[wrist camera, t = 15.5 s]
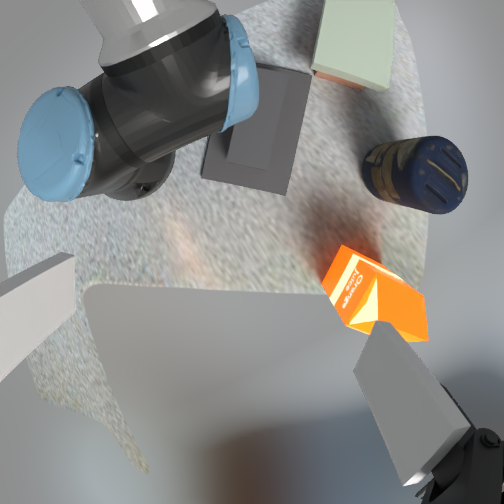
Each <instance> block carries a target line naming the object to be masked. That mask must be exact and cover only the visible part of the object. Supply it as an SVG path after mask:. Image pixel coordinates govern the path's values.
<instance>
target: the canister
mask: <svg viewBox="0 0 504 504" xmlns="http://www.w3.org/2000/svg"><path fill="white" fill-rule="evenodd" d="M363 178H364V182H365V184H366V186H367V188H368V189H369V191H370V192H371V193H372V194H373V195H374V196H375V197H377V198H378V199H380V200H383V201H386V202H390V203H394V204H398V205H402V206H406V207H411V208H414V209H418V210H422V211H425V212H429V213H432V214H446V213H449V212H451V211H453V210H454V209H455V208H456V207H457V206H458V205H459V204H460V203H461V202H462V200H463V198H464V196H465V194H466V191H467V186H468V170H467V166H466V162H465V159H464V157H463V155H462V153H461V152H460V150H459V149H458V148H457V147H456V146H455V145H454V144H453V143H452V142H451V141H449V140H448V139H446V138H443V137H440V136H426V137H419V138H412V139H405V140H399V141H396V142H391V143H386V144H381V145H378V146H376V147H374V148H373V149H372V150H371V151H370V152H369V153H368V154H367V156H366V158H365V160H364V164H363Z"/></svg>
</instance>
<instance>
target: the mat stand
mask: <svg viewBox="0 0 504 504" xmlns="http://www.w3.org/2000/svg"><path fill="white" fill-rule="evenodd" d="M256 68H257V73H258V80H259V104H258V107H257V109H256V111H255V112H254V113H253V115H252V116H251V117H250V118H248V119H246V120H244V121H242V122H239V123H237V124H235V125H232V126H230V127H228V128H227V129H226V130H224V131H223V132H221V133H218V132H215V133H213V134H211V136H210V140H209V144H208V149H207V153H206V158H205V163H204V167H203V172H202V177H201V178H204V179H209V180H214V181H219V182H224V183H229V184H234V185H239V186H244V187H249V188H253V189H258V190H262V191H267V192H271V193H276V194H280V195H284V196H286V192H287V188H288V184H289V179H290V175H291V171H292V166H293V162H294V157H295V153H296V148H297V144H298V139H299V135H300V130H301V126H302V121H303V117H304V112H305V107H306V103H307V98H308V93H309V88H310V84H311V79H312V76H311V75H308V74H304V73H300V72H296V71H292V70H288V69H284V68H279V67H274V66H270V65H265V64H260V63H256Z"/></svg>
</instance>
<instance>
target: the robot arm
mask: <svg viewBox="0 0 504 504" xmlns="http://www.w3.org/2000/svg"><path fill="white" fill-rule="evenodd" d="M80 2H81V3H82V5H83V7H84V8H85V10H86V12H87V13H88V14H89V16H90V18H91V20H92V21H93V23H94V24H95V26H96V27H97V29H98V31H99V32H100V34H101V35H102V37H103V46H102V49H101V52H100V56H99V59H98V62H99V65H100V66H101V68H102V69H103V71H104V73H102V74H101V75H99V76H98V77H96V78H94V79H93V80H91V81H90V82H88V83H87V84H86V85H84V86H83V87H81V88H80V89H78V90H77V89H75V88H74V87H69V86H67V87H57V88H53V89H51V90H49V91H47V92H45V93H44V94H42V95H41V96H40V97H39V98H38V99H37V100H36V101H35V102H34V103H33V105H32V106H31V107H30V109H29V111H28V112H27V114H26V116H25V118H24V121H23V124H22V126H21V132H20V136H19V140H18V148H17V158H18V165H19V170H20V174H21V177H22V179H23V181H24V183H25V185H26V187H27V188H28V190H29V191H30V192H31V193H32V194H33V195H35V196H37V197H39V198H40V199H41V200H44V201H48V202H56V201H58V202H59V201H60V202H68V201H71V200H73V199H76V198H81V197H87V196H92V195H98V194H103V193H104V194H105V195H107V196H109V197H111V198H113V199H117V200H122V201H130V200H136V199H140V198H144V197H146V196H148V195H150V194H152V193H153V192H155V191H156V190H157V189H158V188H160V187H161V186H162V184H163V183H164V182H165V181H166V179H167V178H168V176H169V174H170V172H171V170H172V167H173V164H174V160H175V152H176V150H177V149H179V148H181V147H183V146H185V145H188V144H190V143H192V142H194V141H197V140H199V139H201V138H203V137H206V136H208V135H210V134H213V133H215V132H218V133H221V132H223V131H224V130H226V129H227V128H228V127H230V126H232V125H235V124H237V123H239V122H242V121H244V120H246V119H248V118H250V117H251V116H252V115H253V113H254V112H255V111H256V109H257V107H258V104H259V80H258V73H257V68H256V63H255V59H254V55H253V52H252V49H251V48H250V46H249V41H248V37H247V34H246V31H245V29H244V27H243V25H242V23H241V22H240V20H239V19H238V18H237V17H235V16H233V15H222V16H220V14H219V11H218V9H217V7H216V5H215V3H213V2H210V1H208V0H80ZM75 312H76V306H75V256H74V255H71V254H67V253H64V252H61V253H58V254H56V255H54V256H52V257H50V258H48V259H46V260H44V261H42V262H40V263H38V264H36V265H34V266H32V267H30V268H28V269H26V270H24V271H22V272H20V273H18V274H16V275H14V276H13V277H11V278H9V279H7V280H5V281H3V282H1V283H0V382H1V381H2V379H4V377H6V375H8V374H9V372H11V371H12V370H13V369H14V368H15V367H16V366H17V365H18V364H19V363H20V362H21V361H22V360H23V359H24V358H25V357H26V356H27V355H28V354H29V353H30V352H31V351H32V350H34V349H35V348H36V347H37V346H38V345H39V344H40V343H41V342H42V341H43V340H44V339H45V338H47V337H48V336H49V335H50V334H51V333H52V332H53V331H54V330H55V329H57V328H58V327H59V326H60V325H61V324H62V323H63V322H64V321H66V320H67V319H68V318H69V317H70V316H71V315H72V314H74V313H75ZM353 371H354V374H355V376H356V378H357V380H358V382H359V385H360V387H361V389H362V391H363V394H364V396H365V398H366V400H367V402H368V405H369V407H370V409H371V412H372V414H373V416H374V418H375V421H376V423H377V425H378V428H379V430H380V432H381V434H382V437H383V439H384V442H385V444H386V446H387V449H388V451H389V454H390V456H391V458H392V461H393V463H394V465H395V468H396V471H397V473H398V476H399V478H400V481H401V483H402V485H403V486H405V485H410V484H414V483H418V482H421V480H423V479H424V478H425V477H426V476H427V475H428V474H429V473H430V472H432V474H433V476H434V478H433V479H432V480H431V481H430V482H428V484H427V485H425V486H424V487H423V488H422V489H421V490H420V491H419V492H418V493H417V494H416V495H415V497H418V496H419V495H420V494H422V493H423V492H424V491H426V492H425V494H424V496H423V497H422V498H421V499H423V500H422V503H421V504H504V492H502V486H503V485H504V441H501V439H500V438H499V436H498V435H497V434H496V433H495V432H493V431H492V430H490V429H486V428H479V429H478V430H476V428H475V427H474V425H473V424H472V422H471V421H470V420H469V418H468V417H467V415H466V414H465V413H464V411H463V410H462V409H461V407H460V406H458V403H457V402H456V401H455V399H453V398H452V395H451V394H450V393H449V391H448V390H447V389H446V388H445V387H444V386H443V385H442V384H440V383H439V382H438V381H437V379H436V378H435V377H434V376H433V374H432V373H431V372H430V371H429V369H428V368H427V367H426V365H425V364H424V363H423V362H422V360H421V359H420V358H419V357H418V355H417V354H416V353H415V352H414V350H413V349H412V348H411V347H410V345H409V344H408V343H407V342H406V341H405V339H404V338H403V337H402V336H401V335H400V333H399V332H398V331H397V330H396V329H395V327H394V326H393V325H392V324H391V323H390V322H386V321H379V320H376V321H375V323H374V325H373V328H372V330H371V333H370V335H369V337H368V340H367V342H366V345H365V347H364V349H363V351H362V353H361V356H360V358H359V360H358V362H357V364H356V366H355V368H354V370H353Z"/></svg>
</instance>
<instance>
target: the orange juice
mask: <svg viewBox="0 0 504 504" xmlns="http://www.w3.org/2000/svg"><path fill="white" fill-rule="evenodd" d="M322 286H323V288H324V290H325V291H326V293H327V295H328V296H329V298H330V300H331V302H332V304H333V305H334V306H335V308H336V310H337V311H338V313H339V315H340V317H341V318H342V320H343V322H344V324H345V325H346V326H348V327H350V328H353V329H356V330H358V331H361V332H364V333H366V334H369V335H370V333H371V330H372V328H373V325H374V323H375V321H376V320H379V321H386V322H390V323H391V324H392V325H393V326H394V327H395V329H396V330H397V331H398V332H399V333H400V335H401V336H402V337H403V338H404V339H405V341H406V342H415V341H425V340H426V341H428V331H427V321H426V312H425V303H424V296H423V295H422V294H420V293H418V292H417V291H416V290H414V289H413V288H412V287H410V286H409V285H408V284H407V283H405V282H404V281H403V280H402V279H401V278H399V277H398V276H396V275H395V274H394V273H392V272H391V271H390V270H388V269H387V268H386V267H384V266H383V265H382V264H380V263H378V262H376V261H374V260H372V259H370V258H368V257H366V256H364V255H362V254H360V253H358V252H356V251H354V250H352V249H350V248H348V247H346V246H344V245H341V247H340V249H339V251H338V253H337V255H336V257H335V259H334V261H333V263H332V265H331V267H330V269H329V271H328V273H327V274H326V276H325V278H324V280H323V282H322Z"/></svg>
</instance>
